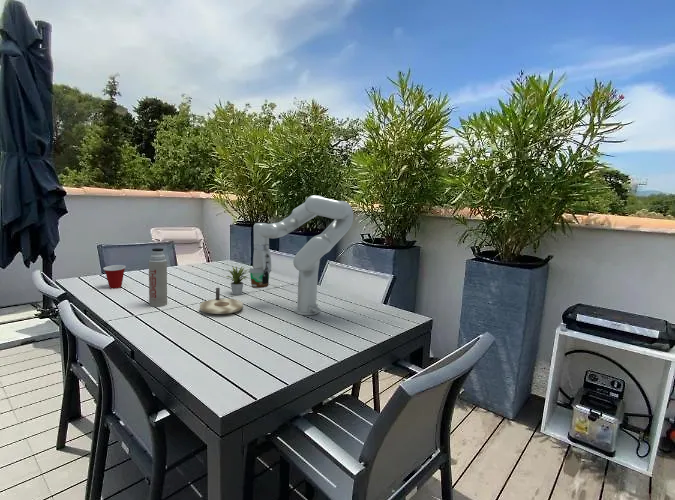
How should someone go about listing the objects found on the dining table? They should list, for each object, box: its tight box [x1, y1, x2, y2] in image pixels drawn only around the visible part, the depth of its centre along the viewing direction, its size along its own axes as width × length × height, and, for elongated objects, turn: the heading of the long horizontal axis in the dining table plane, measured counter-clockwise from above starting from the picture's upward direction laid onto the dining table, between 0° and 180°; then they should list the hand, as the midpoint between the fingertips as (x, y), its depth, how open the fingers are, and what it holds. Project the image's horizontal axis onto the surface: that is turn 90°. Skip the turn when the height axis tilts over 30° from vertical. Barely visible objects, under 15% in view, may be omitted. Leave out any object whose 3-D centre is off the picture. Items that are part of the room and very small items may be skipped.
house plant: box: [225, 266, 250, 296], centre depth 204 cm, size 14×14×16 cm
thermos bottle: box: [148, 247, 168, 308], centre depth 178 cm, size 8×8×28 cm
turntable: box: [199, 287, 244, 315], centre depth 176 cm, size 20×20×9 cm
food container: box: [248, 267, 270, 289], centre depth 184 cm, size 12×6×10 cm, turn 143°
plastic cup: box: [102, 264, 126, 290], centre depth 204 cm, size 11×11×12 cm
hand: (261, 282), depth 185 cm, fingers closed on food container, 5 cm apart
